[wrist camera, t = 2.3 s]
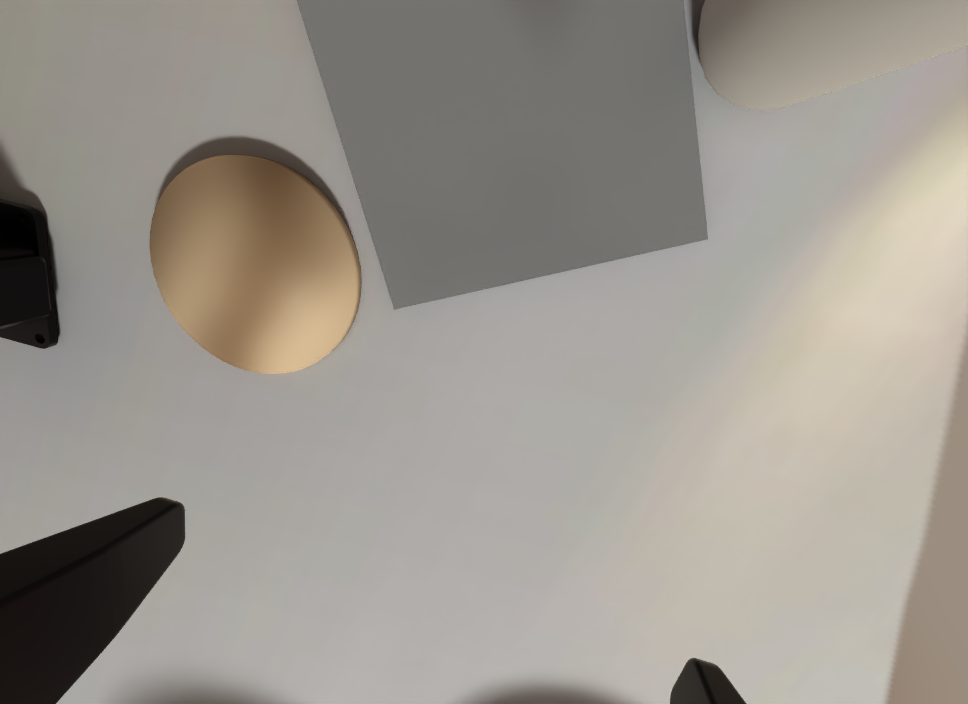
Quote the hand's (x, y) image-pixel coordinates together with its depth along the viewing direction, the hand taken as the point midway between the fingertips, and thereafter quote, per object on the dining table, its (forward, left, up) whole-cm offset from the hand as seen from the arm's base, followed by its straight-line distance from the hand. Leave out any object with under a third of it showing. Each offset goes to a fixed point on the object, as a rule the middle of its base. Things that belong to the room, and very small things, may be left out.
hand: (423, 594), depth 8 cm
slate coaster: (-2, +9, -12) cm, 15 cm away
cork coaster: (-11, +1, -12) cm, 16 cm away
